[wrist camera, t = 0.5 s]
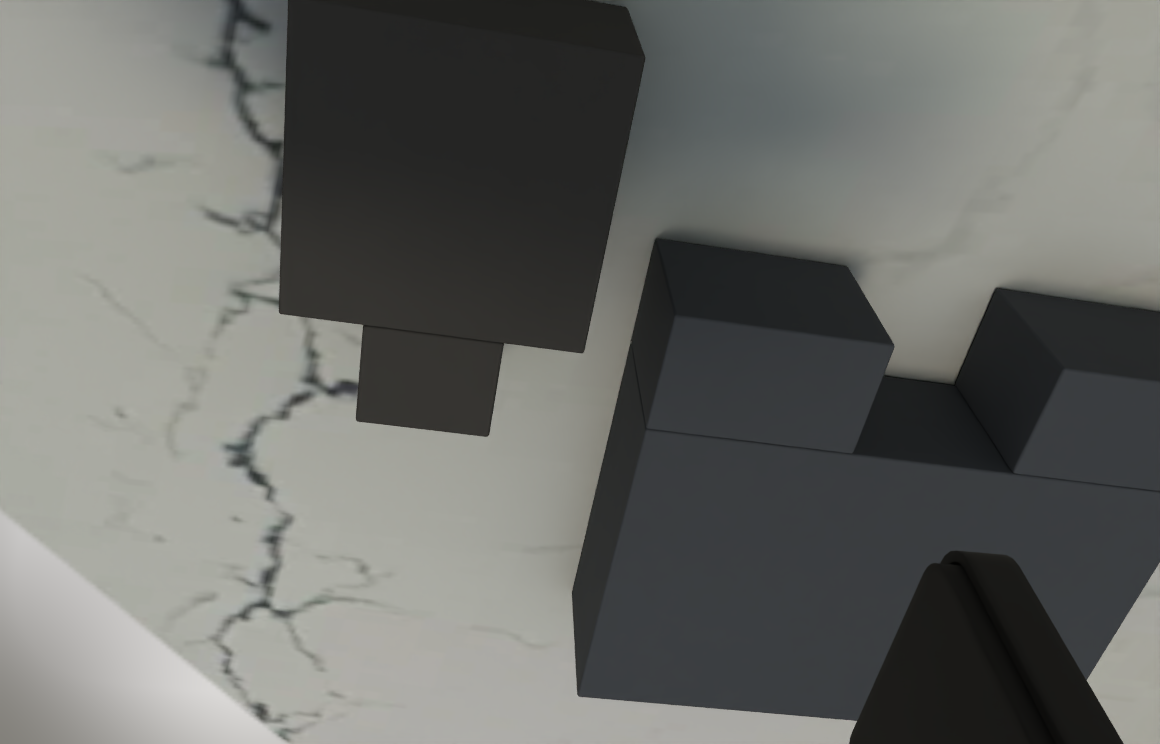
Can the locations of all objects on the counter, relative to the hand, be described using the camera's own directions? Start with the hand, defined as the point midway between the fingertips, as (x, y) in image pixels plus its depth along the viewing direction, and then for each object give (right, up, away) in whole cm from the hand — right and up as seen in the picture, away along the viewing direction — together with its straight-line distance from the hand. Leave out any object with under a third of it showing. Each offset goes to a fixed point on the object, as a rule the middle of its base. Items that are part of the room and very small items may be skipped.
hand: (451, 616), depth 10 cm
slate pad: (+9, 0, +19) cm, 21 cm away
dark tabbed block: (-2, +7, +14) cm, 16 cm away
